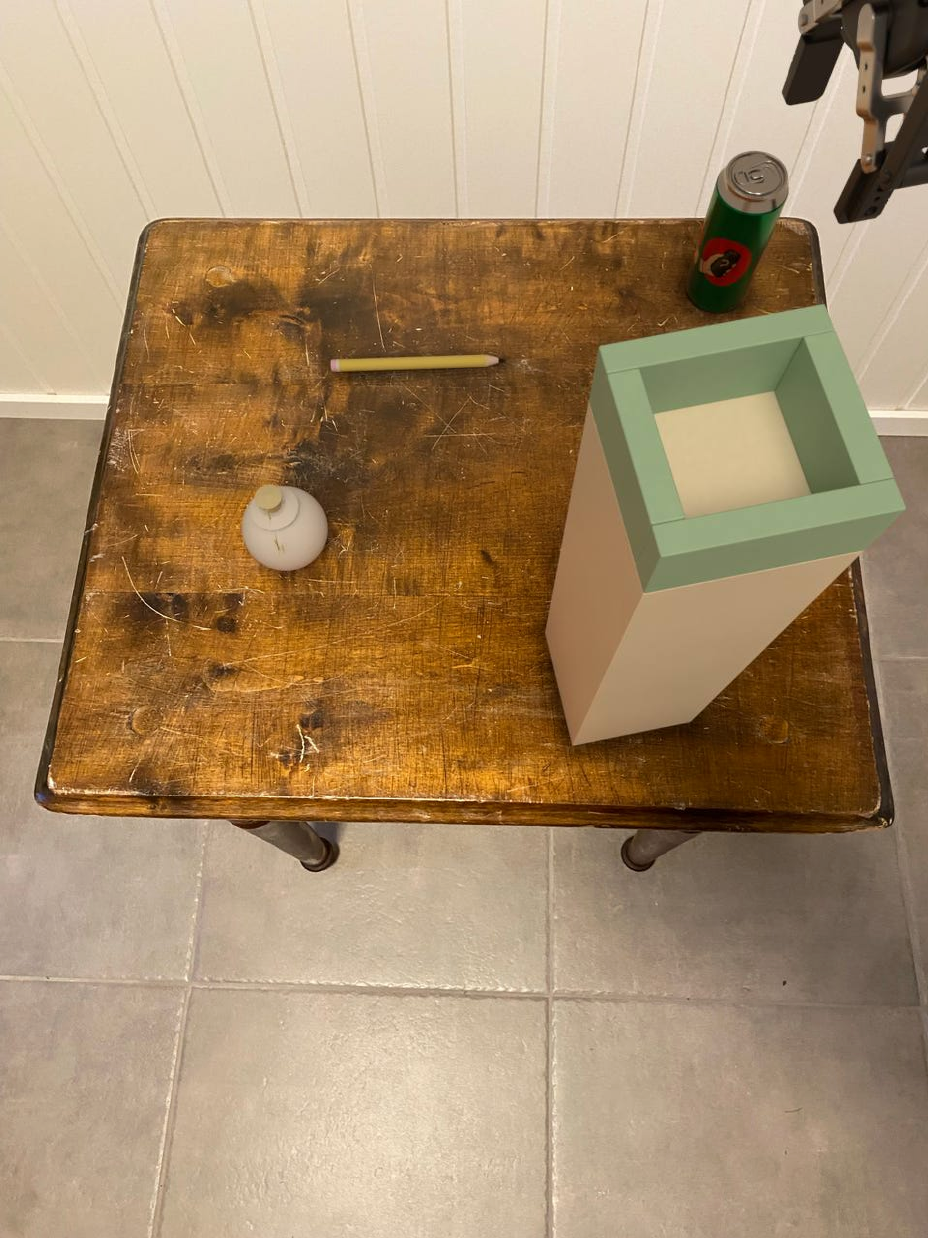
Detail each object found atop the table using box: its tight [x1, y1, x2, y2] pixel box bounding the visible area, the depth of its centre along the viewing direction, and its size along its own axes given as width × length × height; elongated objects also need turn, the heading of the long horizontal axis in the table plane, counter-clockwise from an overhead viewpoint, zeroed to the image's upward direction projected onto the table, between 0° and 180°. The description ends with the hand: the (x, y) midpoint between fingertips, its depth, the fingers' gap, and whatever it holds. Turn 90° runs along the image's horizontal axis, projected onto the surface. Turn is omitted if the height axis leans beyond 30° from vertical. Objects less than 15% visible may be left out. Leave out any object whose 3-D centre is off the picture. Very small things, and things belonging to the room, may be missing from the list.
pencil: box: [330, 354, 507, 373], centre depth 70 cm, size 1×14×1 cm, turn 91°
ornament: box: [241, 484, 329, 572], centre depth 61 cm, size 6×7×10 cm
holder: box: [544, 303, 907, 747], centre depth 46 cm, size 8×8×34 cm
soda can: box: [685, 150, 790, 314], centre depth 67 cm, size 5×5×12 cm
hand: (825, 155), depth 48 cm, fingers open, 8 cm apart
